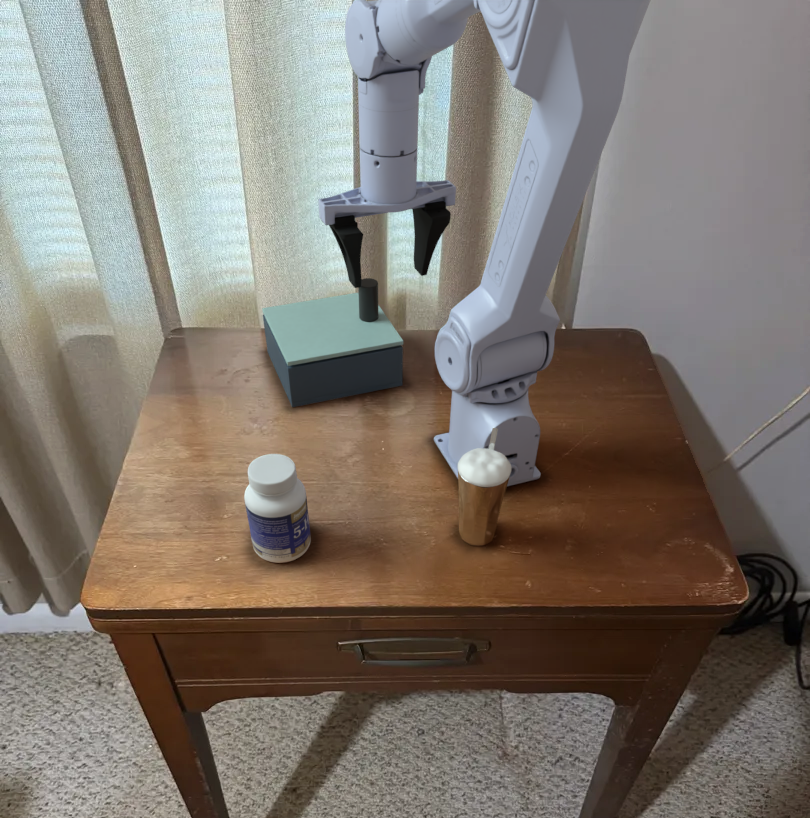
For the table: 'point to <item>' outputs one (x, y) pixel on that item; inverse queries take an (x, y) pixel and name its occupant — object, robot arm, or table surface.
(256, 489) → the pill bottle
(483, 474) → the milkshake
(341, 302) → the sliding lid
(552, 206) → the robot arm
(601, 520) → the table surface
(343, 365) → the case
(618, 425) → the table surface
